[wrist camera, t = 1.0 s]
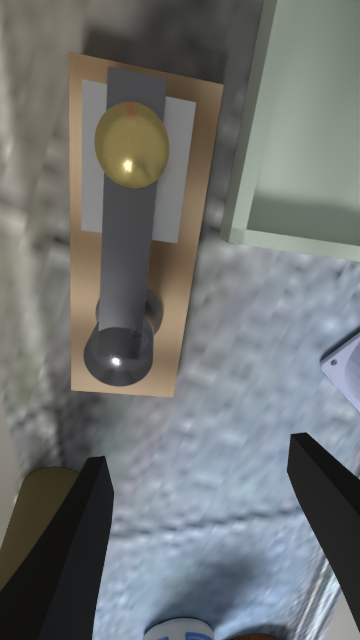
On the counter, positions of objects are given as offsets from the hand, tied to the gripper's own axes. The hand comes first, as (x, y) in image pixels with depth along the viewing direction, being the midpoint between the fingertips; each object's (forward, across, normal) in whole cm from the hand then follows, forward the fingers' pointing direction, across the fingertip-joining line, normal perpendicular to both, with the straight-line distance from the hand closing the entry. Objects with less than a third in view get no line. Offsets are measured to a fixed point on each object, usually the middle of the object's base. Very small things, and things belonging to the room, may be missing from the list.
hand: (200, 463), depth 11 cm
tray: (+10, -10, -12) cm, 19 cm away
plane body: (+10, +2, -6) cm, 12 cm away
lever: (+8, +2, -7) cm, 11 cm away
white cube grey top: (+8, +1, -11) cm, 14 cm away
